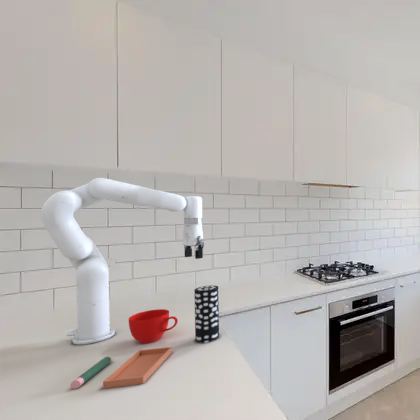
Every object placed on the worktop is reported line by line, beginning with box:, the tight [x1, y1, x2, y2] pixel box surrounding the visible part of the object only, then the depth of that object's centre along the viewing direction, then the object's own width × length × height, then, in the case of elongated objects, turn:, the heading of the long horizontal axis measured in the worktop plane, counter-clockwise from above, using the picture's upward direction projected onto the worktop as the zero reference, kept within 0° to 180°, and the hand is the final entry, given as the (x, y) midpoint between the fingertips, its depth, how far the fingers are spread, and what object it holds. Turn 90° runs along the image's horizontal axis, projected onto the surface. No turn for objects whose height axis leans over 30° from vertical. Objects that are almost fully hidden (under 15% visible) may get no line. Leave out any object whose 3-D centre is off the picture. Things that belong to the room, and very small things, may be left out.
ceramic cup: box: [128, 308, 179, 344], centre depth 122 cm, size 13×17×10 cm
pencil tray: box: [102, 346, 173, 389], centre depth 100 cm, size 10×20×2 cm, turn 13°
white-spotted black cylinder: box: [193, 285, 220, 344], centre depth 122 cm, size 8×8×20 cm
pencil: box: [70, 355, 113, 389], centre depth 97 cm, size 16×2×2 cm, turn 13°
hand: (193, 257), depth 148 cm, fingers open, 9 cm apart
